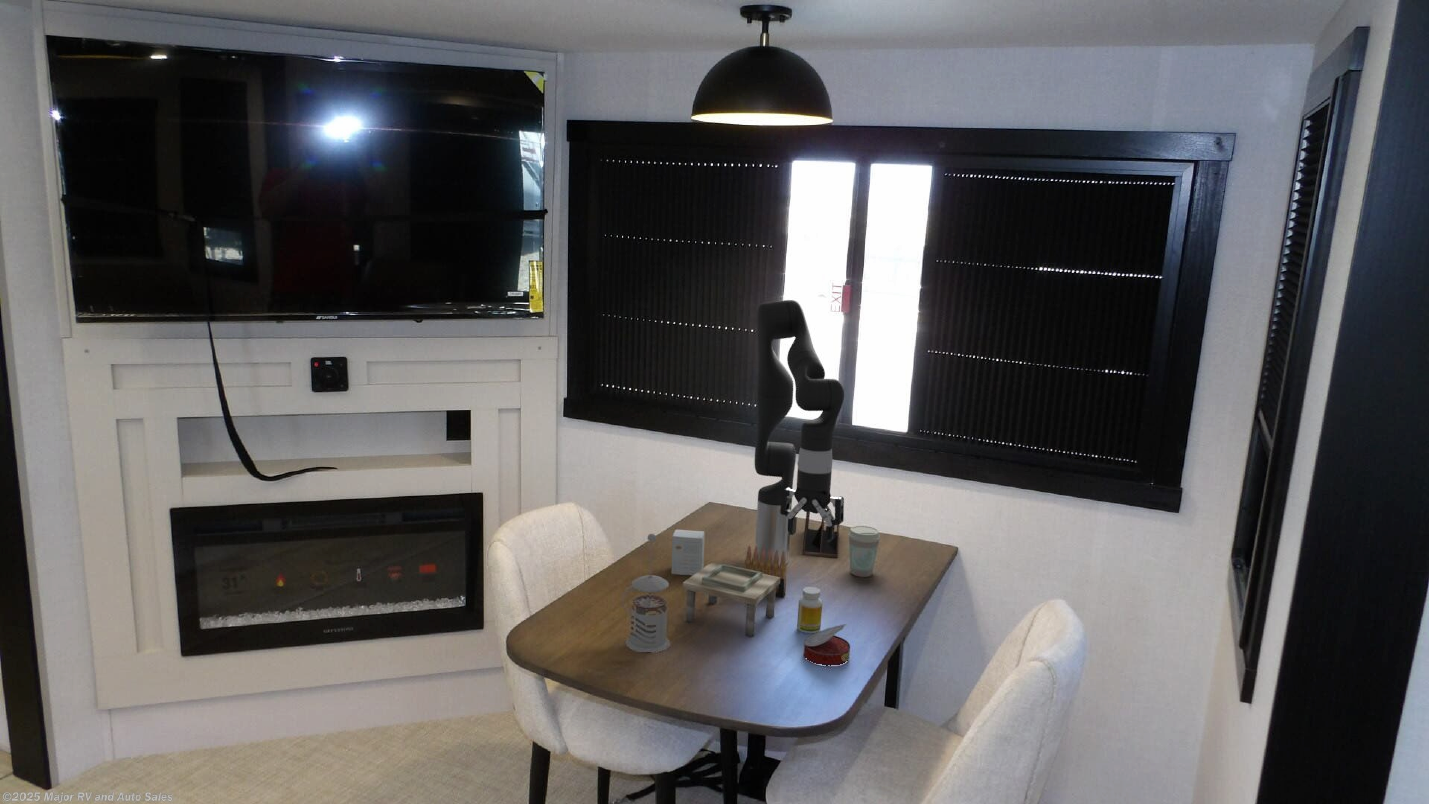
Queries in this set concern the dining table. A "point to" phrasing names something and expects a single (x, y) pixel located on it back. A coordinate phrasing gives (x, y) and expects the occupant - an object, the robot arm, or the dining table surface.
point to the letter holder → (819, 541)
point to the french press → (651, 635)
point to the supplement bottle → (809, 611)
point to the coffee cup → (863, 549)
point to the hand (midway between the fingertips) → (810, 537)
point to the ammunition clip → (769, 567)
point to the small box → (687, 552)
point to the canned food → (827, 647)
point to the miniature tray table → (732, 590)
